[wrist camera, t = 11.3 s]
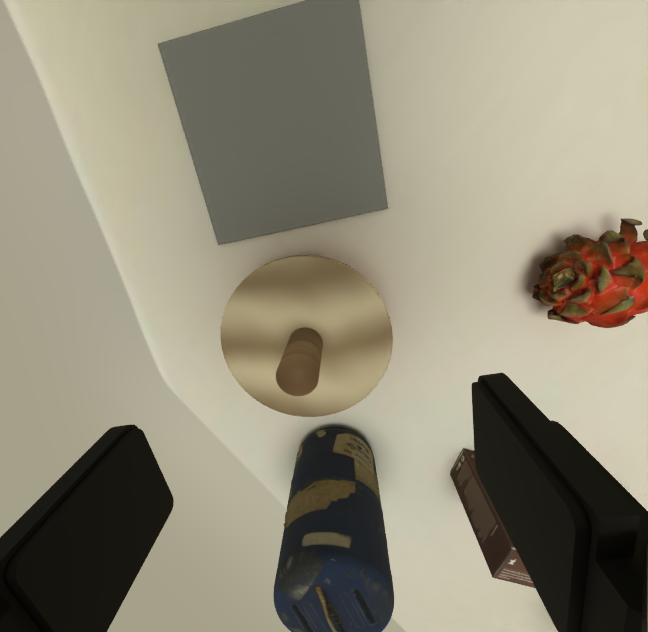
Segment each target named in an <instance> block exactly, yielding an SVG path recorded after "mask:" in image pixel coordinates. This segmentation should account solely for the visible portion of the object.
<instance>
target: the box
mask: <svg viewBox="0 0 648 632" xmlns="http://www.w3.org/2000/svg"><path fill="white" fill-rule="evenodd" d="M450 475H451V477H452V480H453V482H454V484H455V487H456V489H457V492H458V494H459V497H460V499H461V502H462V504H463V506H464V509H465V511H466V514H467V516H468V518H469V521H470V523H471V526H472V528H473V531H474V533H475V535H476V538H477V540H478V543H479V545H480V548H481V550H482V552H483V555H484V557H485V560H486V562H487V565H488V567H489V569H490V572H491V574H492V577H493V578H497V579H501V580H505V581H509V582H513V583H517V584H521V585H525V586H529V587H533V588H535V586H534V584H533V582H532V580H531V578H530V576H529V574H528V572H527V570H526V568H525V566H524V564H523V562H522V560H521V558H520V556H519V554H518V552H517V550H516V549H515V547H514V545H513V543H512V541H511V539H510V537H509V535H508V533H507V531H506V529H505V527H504V525H503V523H502V521H501V519H500V517H499V515H498V513H497V511H496V509H495V507H494V505H493V503H492V501H491V499H490V497H489V496H488V494H487V492H486V490H485V488H484V486H483V484H482V482H481V480H480V478H479V475H478V473H477V469H476V465H475V452H472V451H468V450H463V451H462V452H461V453H460V456H459V458H458V459H457V461H456V463H455V465H454V467H453V469H452V471H451V474H450Z"/></svg>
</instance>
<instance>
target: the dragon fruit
mask: <svg viewBox="0 0 648 632" xmlns="http://www.w3.org/2000/svg"><path fill="white" fill-rule="evenodd" d="M621 221H622V222H621V226H620V228H621V230H620V233H619V234H617V233H615V232H614V231H607V232H605V233H604V234H602V235H601V237H602V238H601V237H600V238H599V239H600V240H598V241H597V242H595V241H593V240H591V239H589V238H584V237H581V236H580V235H572V236H570V237H568V238H566V239H565V240H563V241H564V242H565V243H566V248H565V252H564V253H562V254H556V255H553V256H550V257H546V258H545V259H544V260H543V261H542V262H541V263H540V268H541V270H542V273H541V274H540V276H539V284H537V285H535V286H534V289H533V296H532V297H533V298H534V299H537V300H538V301H540V302H542V303H543V304H545V305H552V306H554V307H553V309H551V310H549V311H548V319H553V320H554V319H555V320H559V321H564V322H568V323H572V324H579V323H581V322H584V321H586V322H588V323H590V324H591V325H593V326H597V327H603V328H612V327H618V326H622V325H624V324H626V323H628V322H629V321H630V320H632V319H633V318H634V317H635V316H633V315H636V314H641V313H644V312H647V311H648V229H647V230H645V231H644V233H643V235H644V238H645V239H646V240H647V241H641V242H636V241H637V235H638V233H637V230H636V228H635V226H634V225H642V222H641V221H638V220H634V219H621Z"/></svg>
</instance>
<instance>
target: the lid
mask: <svg viewBox="0 0 648 632" xmlns="http://www.w3.org/2000/svg"><path fill="white" fill-rule="evenodd" d="M392 342H393V337H392V327H391V323H390V318H389V315H388V313H387V310H386V308H385V305H384V303H383V302H382V300H381V298H380V296H379V294H378V293H377V292H376V290H375V289H374V288H373V286H372V285H371V284H370V283H369V282H368V281H367V280H366V279H365V278H364V277H363V276H361V275H360V274H359V273H357V272H356V271H355V270H353V269H351V268H350V267H348V266H346V265H344V264H342V263H340V262H337V261H335V260H332V259H328V258H324V257H319V256H311V255H298V256H291V257H285V258H282V259H278V260H275V261H273V262H270V263H268V264H266V265H264V266H262V267H261V268H259V269H258V270H256V271H255V272H253V273H252V274H251V275H249V276H248V277H247V278H246V279H245V280H244V281H243V282H242V283H241V284H240V285H239V286H238V287H237V288H236V290H235V291H234V293H233V294H232V296H231V297H230V299H229V301H228V303H227V305H226V308H225V311H224V314H223V318H222V324H221V344H222V350H223V354H224V358H225V360H226V363H227V365H228V368H229V369H230V371H231V373H232V375H233V376H234V378H235V379H236V381H237V382H238V383H239V385H240V386H241V387H242V388H243V389H244V390H245V391H246V392H247V393H248V394H249V395H251V396H252V397H253V398H254V399H256V400H257V401H259V402H260V403H262V404H263V405H265V406H267V407H269V408H271V409H274V410H276V411H279V412H282V413H285V414H289V415H294V416H302V417H317V416H325V415H330V414H334V413H337V412H340V411H343V410H345V409H347V408H350V407H352V406H353V405H355V404H357V403H358V402H360V401H361V400H362V399H364V398H365V397H366V396H367V395H368V394H370V392H371V391H372V390H373V389H374V388H375V387H376V386H377V384H378V383H379V382H380V380H381V379H382V377H383V375H384V373H385V371H386V369H387V367H388V364H389V361H390V357H391V352H392Z"/></svg>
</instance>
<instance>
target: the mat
mask: <svg viewBox="0 0 648 632" xmlns="http://www.w3.org/2000/svg"><path fill="white" fill-rule="evenodd" d="M158 47H159V50H160V53H161V57H162V60H163V63H164V66H165V70H166V73H167V76H168V80H169V83H170V86H171V90H172V93H173V96H174V100H175V103H176V106H177V109H178V113H179V116H180V119H181V123H182V126H183V129H184V133H185V136H186V139H187V143H188V146H189V149H190V153H191V156H192V159H193V162H194V166H195V169H196V172H197V176H198V179H199V182H200V186H201V189H202V192H203V196H204V199H205V202H206V205H207V209H208V212H209V215H210V219H211V222H212V225H213V229H214V232H215V235H216V239H217V242H218V245H220V244H225V243H229V242H234V241H239V240H243V239H248V238H253V237H257V236H262V235H266V234H271V233H276V232H280V231H285V230H290V229H294V228H299V227H303V226H308V225H313V224H317V223H322V222H327V221H331V220H336V219H340V218H345V217H350V216H354V215H359V214H364V213H368V212H373V211H377V210H382V209H387V208H388V204H387V197H386V190H385V183H384V176H383V169H382V161H381V154H380V147H379V140H378V133H377V126H376V119H375V112H374V105H373V98H372V90H371V83H370V76H369V69H368V62H367V55H366V48H365V41H364V34H363V27H362V19H361V12H360V5H359V0H306V1H302V2H299V3H295V4H292V5H289V6H285V7H282V8H278V9H275V10H272V11H268V12H265V13H261V14H258V15H254V16H251V17H248V18H244V19H241V20H237V21H234V22H231V23H227V24H224V25H220V26H217V27H214V28H210V29H207V30H203V31H200V32H197V33H193V34H190V35H186V36H183V37H179V38H176V39H173V40H169V41H166V42H162V43H159V44H158Z"/></svg>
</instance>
